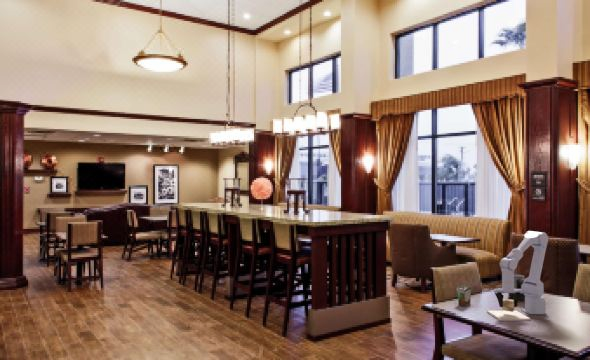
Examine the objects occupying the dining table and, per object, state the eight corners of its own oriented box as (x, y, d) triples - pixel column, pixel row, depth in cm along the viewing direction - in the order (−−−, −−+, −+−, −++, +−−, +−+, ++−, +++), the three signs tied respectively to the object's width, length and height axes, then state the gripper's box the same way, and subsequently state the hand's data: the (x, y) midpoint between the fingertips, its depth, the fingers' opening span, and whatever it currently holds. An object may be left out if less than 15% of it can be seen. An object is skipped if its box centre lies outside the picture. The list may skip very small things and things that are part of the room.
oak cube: (514, 309, 227) (514, 300, 227) (512, 311, 223) (512, 302, 223) (504, 307, 230) (504, 298, 230) (502, 310, 226) (502, 300, 226)
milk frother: (504, 298, 263) (504, 274, 263) (525, 296, 268) (524, 272, 268) (522, 304, 249) (522, 279, 250) (544, 302, 254) (544, 277, 254)
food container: (460, 301, 256) (460, 284, 256) (471, 303, 252) (471, 286, 253) (453, 305, 247) (453, 288, 247) (464, 307, 243) (464, 290, 243)
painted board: (516, 312, 234) (516, 310, 234) (530, 320, 220) (530, 318, 220) (487, 312, 234) (487, 310, 234) (499, 320, 220) (499, 318, 220)
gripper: (517, 279, 231) (517, 304, 231) (490, 279, 231) (490, 304, 231) (524, 282, 224) (524, 308, 224) (497, 282, 224) (497, 308, 224)
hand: (508, 306), depth 227 cm, fingers closed on oak cube, 7 cm apart
